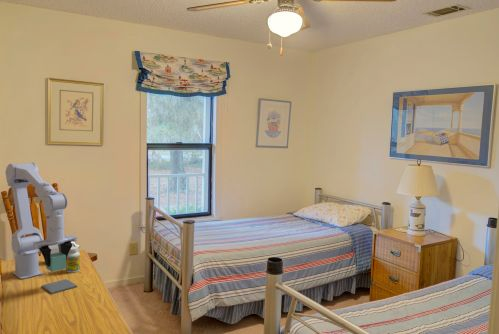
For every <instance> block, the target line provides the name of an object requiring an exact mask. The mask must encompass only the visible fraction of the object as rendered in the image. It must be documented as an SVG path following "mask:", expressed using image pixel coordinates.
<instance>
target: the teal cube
mask: <svg viewBox="0 0 499 334" xmlns="http://www.w3.org/2000/svg"><path fill="white" fill-rule="evenodd" d="M45 268H46V270H48V271H50V272H51V273H52V272H56V271H58V272H59V271H61V270H66V255H65V254H63V253H61V252H58V253H53V254H50V266H49V267H48V266H46V265H45Z"/></svg>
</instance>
